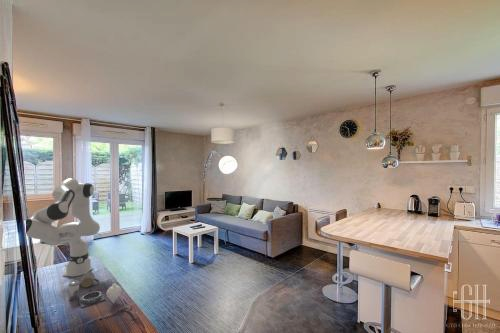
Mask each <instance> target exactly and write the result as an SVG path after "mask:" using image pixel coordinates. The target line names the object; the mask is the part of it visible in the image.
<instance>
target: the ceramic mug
mask: <svg viewBox="0 0 500 333" xmlns="http://www.w3.org/2000/svg"><path fill="white" fill-rule="evenodd" d="M99 284H100V279H97V278H96V275H95V273H93V272H91V271H89V272H88V273H85V274H83V275H81V279H80V286H81V287H82V288H83V289H85V288H89V287H92V285H93V286H94V285H95V286H97V285H99Z"/></svg>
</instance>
